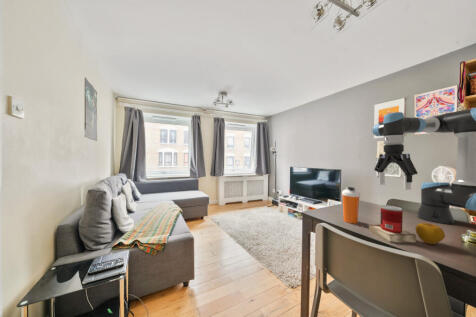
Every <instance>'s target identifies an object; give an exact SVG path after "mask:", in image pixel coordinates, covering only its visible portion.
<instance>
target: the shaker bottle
mask: <svg viewBox="0 0 476 317" xmlns="http://www.w3.org/2000/svg"><path fill="white" fill-rule="evenodd" d="M341 195H342V214H343V222H345V223H347V224H354V225H355V224H356V225H357V224H358V223H359V209H360V208H359V206H360V197H361V193H360V192H359V191H358V190H356V187H352V186H346V188H345V189H343V190H342V192H341Z"/></svg>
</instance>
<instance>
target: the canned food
mask: <svg viewBox="0 0 476 317" xmlns="http://www.w3.org/2000/svg"><path fill="white" fill-rule="evenodd" d="M403 211H404V210H403V208H402V207H398V206H395V205H388V204H387V205H386V204H385V205H380V224H379V225H380V226H381V228H382V229H383V230H385V231H388V232H392V233H401V232H402V230H403V220H404V219H403V217H404V216H403V214H404V212H403Z"/></svg>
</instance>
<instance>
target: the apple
mask: <svg viewBox="0 0 476 317" xmlns="http://www.w3.org/2000/svg"><path fill="white" fill-rule="evenodd" d="M415 233H416V236H418V238H419V239H420V240H421V241H422V242H423V243H425V244H428V245H436V244H438V243H440V242H442V241H443V240H444V239H445V237H446V233H445V232H444V229H442V227H440V226H439V225H437V224H433V223H429V222H420V223H418V224H417V225H416V226H415Z"/></svg>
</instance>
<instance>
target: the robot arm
mask: <svg viewBox="0 0 476 317" xmlns="http://www.w3.org/2000/svg"><path fill="white" fill-rule="evenodd" d="M371 129H372V131H371V132H372V134H373V136H375V137H383V144H384V145H383V152H384V153H379V156H378V159H377V162H376V165H375V167H374V169H373V170H374V171H376V172H377V179H378V185H382V186H384V185H386V184H385V180H386V176H385V170H386V169H387V167H388V166H390V164H396V165H397V166H398V167H399V168H400V170H401V171H402V172H403V174H404V175H403V190H412V182H413V176H414V175H418V171H417V169H416V167H415V165H414V163H413V161H412V158H411V154H410V153H403V152H404V151H405V145H404V143H405V139H404V138H405V136H404V135H405V134H416V133H426V134H432V133H433V134H435V133H438V134H440V133H443V134H445V133H446V134H447V133H450V134H451V133H453V136H455V137H456V138H457V151H456V166H455V167H456V170H455V174H456V175H455V180H453V181H452V182H451V183H450V182H446V181H445V182H442V181H441V182H438V181H436V182H435V181H433V182H432V181H430V182H429V181H426V182H425V181H424V182H422V183H421V188H420V195H421V197H420V206H419V208H418V210H417V212H416V216H417V218H419V219H422V220H424V221H428V222H433V223H439V224H445V225H447V224H448V225H449V224H451V225H452V224H455V219H454V217H453V214H452V211H451V209H450V207H455V208H459V209H465V210H468V211H473V212H474V211H475V212H476V107H471V108H468V109H463V110H457V111H452V112H446V113H442V114H438V115H433V116H428V117H425V118H421V117H417V116H416V117H415V116H414V117H406V116H405V115H404V112H402V111H399V112H398V111H396V112H390V113H386V114H384V116H383V122H380V123H377V124H374V125H373V126H372V128H371Z"/></svg>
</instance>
